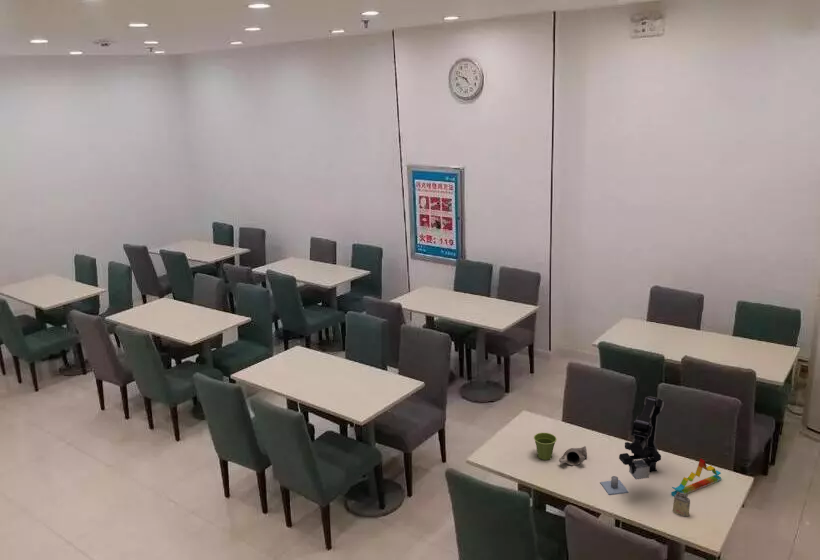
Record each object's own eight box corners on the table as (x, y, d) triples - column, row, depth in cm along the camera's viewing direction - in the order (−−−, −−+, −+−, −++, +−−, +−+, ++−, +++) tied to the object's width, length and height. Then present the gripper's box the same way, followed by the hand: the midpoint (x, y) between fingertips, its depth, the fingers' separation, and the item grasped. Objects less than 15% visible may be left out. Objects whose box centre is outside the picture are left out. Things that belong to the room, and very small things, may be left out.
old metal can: (689, 513, 297) (691, 495, 294) (687, 518, 294) (689, 499, 291) (673, 508, 301) (675, 489, 298) (671, 512, 298) (673, 493, 296)
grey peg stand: (619, 480, 323) (620, 471, 321) (628, 492, 314) (629, 482, 312) (600, 483, 322) (600, 473, 320) (608, 495, 312) (609, 485, 311)
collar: (641, 470, 314) (642, 459, 312) (648, 477, 307) (649, 466, 306) (629, 471, 313) (629, 460, 311) (635, 479, 306) (636, 468, 305)
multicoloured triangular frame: (676, 499, 308) (678, 471, 304) (671, 495, 311) (673, 468, 307) (721, 481, 320) (724, 454, 316) (715, 477, 323) (718, 451, 319)
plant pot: (560, 457, 345) (561, 439, 341) (544, 465, 338) (545, 446, 335) (544, 448, 354) (545, 429, 351) (528, 455, 348) (529, 437, 344)
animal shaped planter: (565, 471, 346) (566, 472, 332) (555, 457, 349) (556, 457, 335) (591, 455, 346) (593, 455, 331) (581, 440, 348) (583, 440, 334)
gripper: (650, 432, 314) (648, 460, 319) (614, 437, 311) (612, 465, 316) (662, 444, 304) (660, 473, 308) (625, 449, 301) (623, 478, 305)
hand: (638, 472), depth 310 cm, fingers closed on collar, 7 cm apart
